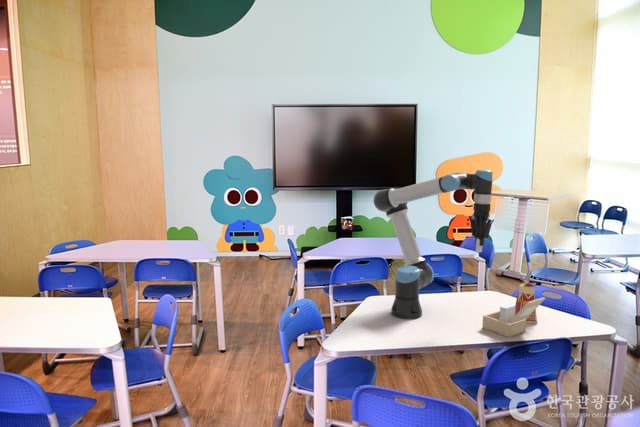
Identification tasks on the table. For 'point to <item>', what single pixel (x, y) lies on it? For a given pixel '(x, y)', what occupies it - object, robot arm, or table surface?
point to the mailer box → (504, 322)
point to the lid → (527, 310)
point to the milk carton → (526, 300)
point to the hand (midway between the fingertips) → (478, 251)
